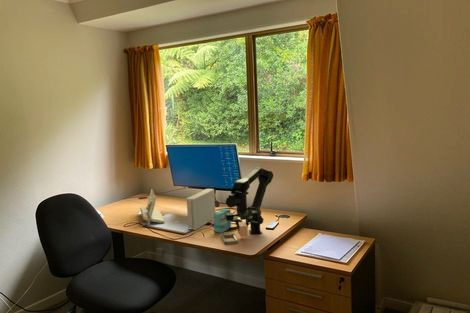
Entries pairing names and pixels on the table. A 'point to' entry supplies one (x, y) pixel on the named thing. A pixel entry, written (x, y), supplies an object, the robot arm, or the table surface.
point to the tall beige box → (243, 229)
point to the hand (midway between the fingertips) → (242, 229)
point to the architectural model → (151, 211)
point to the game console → (200, 208)
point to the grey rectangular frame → (229, 241)
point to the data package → (221, 221)
